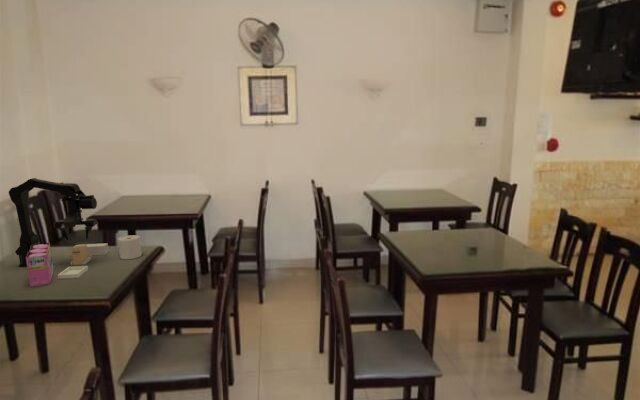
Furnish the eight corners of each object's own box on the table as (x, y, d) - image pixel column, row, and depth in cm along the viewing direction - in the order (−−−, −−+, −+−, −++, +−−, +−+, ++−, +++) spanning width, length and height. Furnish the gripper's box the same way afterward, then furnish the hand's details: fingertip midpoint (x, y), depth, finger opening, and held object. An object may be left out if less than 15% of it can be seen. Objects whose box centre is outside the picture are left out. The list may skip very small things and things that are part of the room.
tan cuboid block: (72, 265, 228) (70, 250, 227) (79, 260, 236) (77, 245, 234) (82, 265, 228) (80, 249, 227) (88, 260, 236) (86, 245, 234)
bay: (60, 265, 228) (59, 256, 227) (78, 253, 247) (76, 244, 246) (94, 264, 229) (93, 254, 228) (108, 252, 248) (107, 243, 247)
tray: (58, 279, 209) (57, 274, 209) (69, 270, 220) (68, 266, 220) (78, 278, 210) (77, 273, 210) (88, 269, 221) (87, 265, 221)
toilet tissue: (137, 259, 235) (135, 240, 233) (113, 260, 235) (111, 241, 233) (145, 253, 245) (143, 234, 243) (122, 253, 245) (120, 235, 243)
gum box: (35, 270, 222) (31, 243, 219) (54, 268, 225) (50, 241, 222) (29, 287, 200) (25, 257, 198) (50, 284, 204) (46, 254, 201)
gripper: (46, 213, 219) (50, 245, 222) (86, 212, 220) (90, 243, 223) (57, 208, 229) (61, 239, 232) (96, 207, 231) (99, 237, 234)
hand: (78, 239), depth 230 cm, fingers open, 9 cm apart
